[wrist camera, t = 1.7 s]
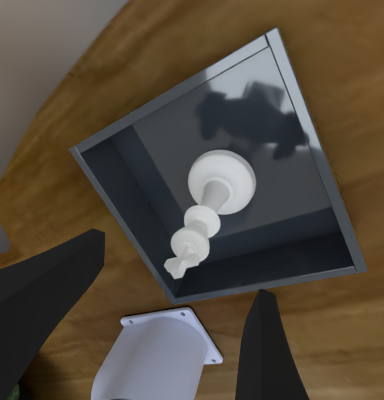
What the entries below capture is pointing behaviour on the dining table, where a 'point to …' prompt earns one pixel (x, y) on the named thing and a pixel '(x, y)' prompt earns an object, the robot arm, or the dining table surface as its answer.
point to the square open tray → (253, 153)
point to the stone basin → (19, 393)
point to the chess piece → (210, 205)
